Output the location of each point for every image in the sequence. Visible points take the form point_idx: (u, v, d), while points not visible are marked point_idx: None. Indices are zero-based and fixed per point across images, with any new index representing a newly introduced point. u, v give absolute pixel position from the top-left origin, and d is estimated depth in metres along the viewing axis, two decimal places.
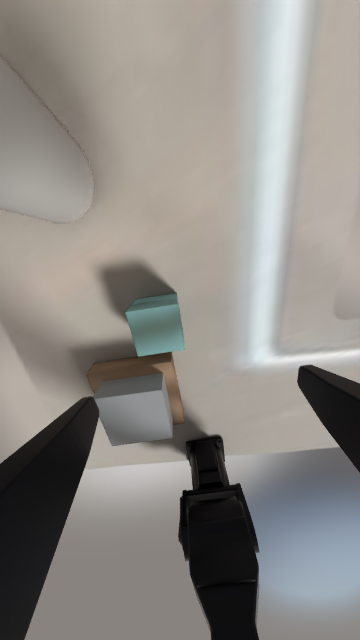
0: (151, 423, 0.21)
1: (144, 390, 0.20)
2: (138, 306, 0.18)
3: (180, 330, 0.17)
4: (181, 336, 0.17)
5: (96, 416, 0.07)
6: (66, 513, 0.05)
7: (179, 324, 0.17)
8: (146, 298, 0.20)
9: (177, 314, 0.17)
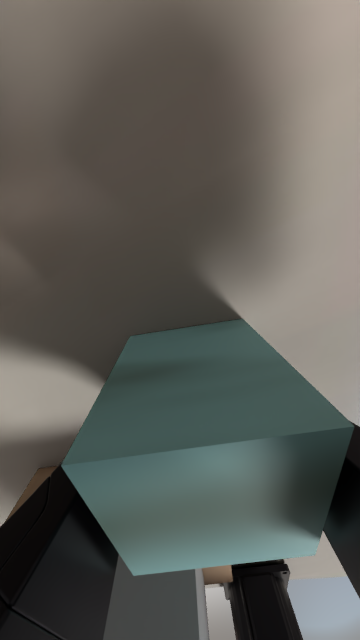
0: None
1: (144, 632, 0.06)
2: (134, 396, 0.04)
3: (322, 512, 0.04)
4: (318, 527, 0.04)
5: None
6: None
7: (327, 497, 0.04)
8: (159, 337, 0.07)
9: (335, 466, 0.03)
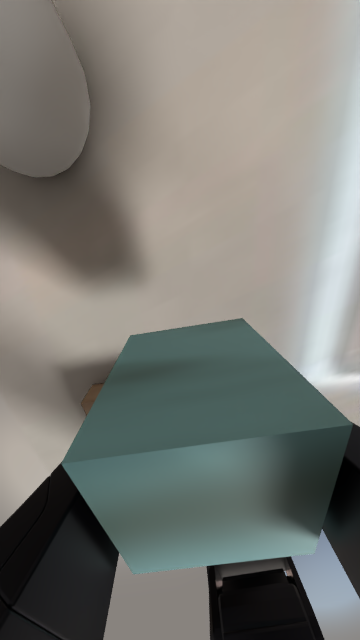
0: None
1: None
2: (134, 395, 0.04)
3: (321, 510, 0.04)
4: (317, 525, 0.04)
5: None
6: None
7: (326, 495, 0.04)
8: (159, 336, 0.07)
9: (334, 464, 0.03)
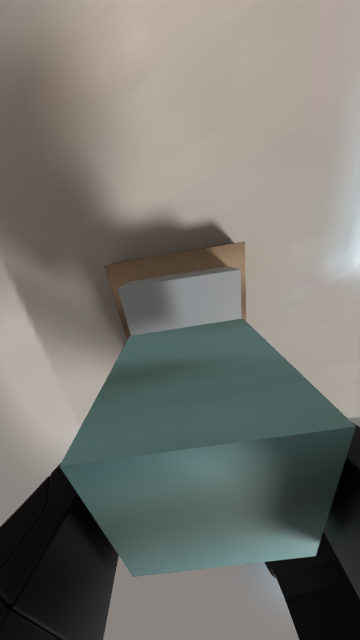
0: None
1: (208, 273, 0.11)
2: (134, 396, 0.04)
3: (323, 513, 0.04)
4: (318, 528, 0.04)
5: None
6: None
7: (328, 497, 0.04)
8: (159, 337, 0.07)
9: (336, 467, 0.03)
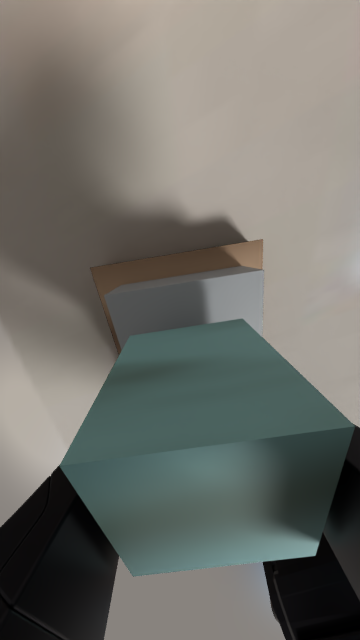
0: None
1: (221, 275, 0.09)
2: (134, 396, 0.04)
3: (322, 513, 0.04)
4: (318, 528, 0.04)
5: None
6: None
7: (327, 497, 0.04)
8: (159, 337, 0.07)
9: (336, 466, 0.03)
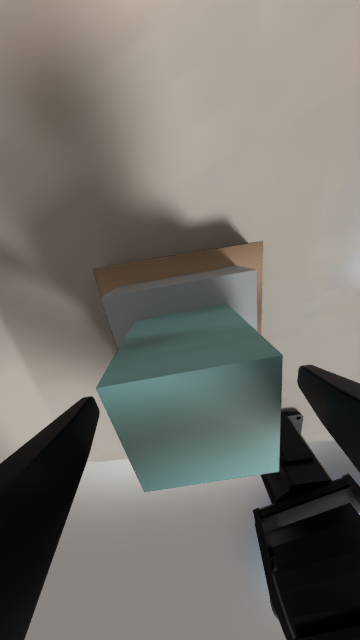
0: None
1: (215, 276, 0.09)
2: (141, 354, 0.06)
3: (276, 429, 0.05)
4: (275, 443, 0.06)
5: (96, 416, 0.07)
6: (66, 514, 0.05)
7: (276, 414, 0.05)
8: (159, 320, 0.09)
9: (276, 387, 0.05)
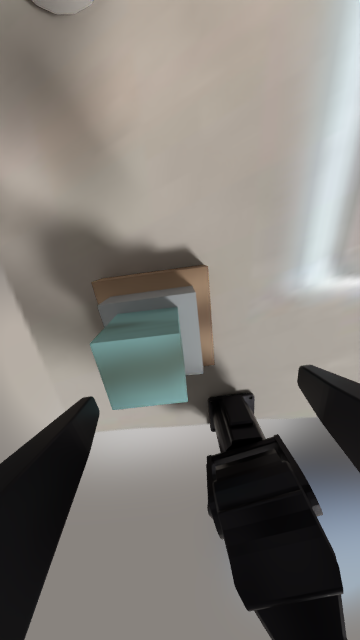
0: None
1: (170, 294, 0.14)
2: (115, 331, 0.11)
3: (182, 374, 0.10)
4: (183, 383, 0.11)
5: (96, 416, 0.07)
6: (66, 514, 0.05)
7: (181, 365, 0.10)
8: (132, 314, 0.14)
9: (178, 350, 0.10)
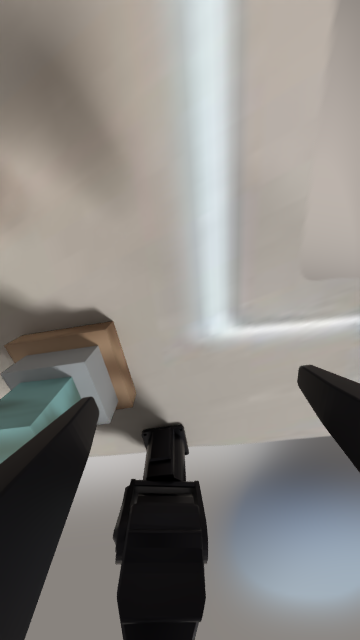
0: None
1: (64, 363, 0.16)
2: None
3: None
4: None
5: (96, 416, 0.07)
6: (66, 513, 0.05)
7: None
8: (29, 385, 0.16)
9: None
